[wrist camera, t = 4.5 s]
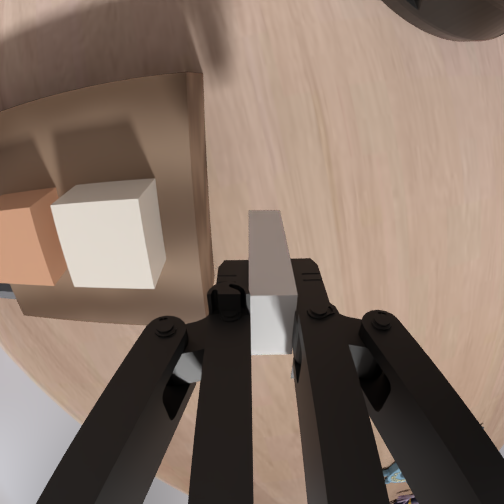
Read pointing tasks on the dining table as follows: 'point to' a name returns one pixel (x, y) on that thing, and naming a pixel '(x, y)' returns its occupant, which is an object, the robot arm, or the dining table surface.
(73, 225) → the off-white block
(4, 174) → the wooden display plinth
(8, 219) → the orange square block
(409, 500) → the toy
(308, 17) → the dining table surface
